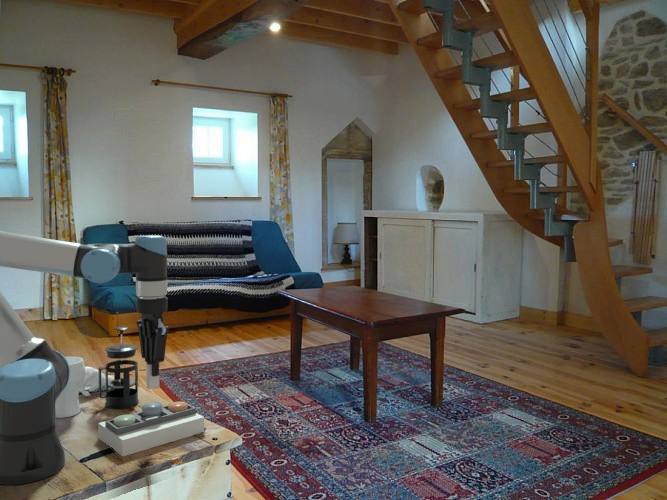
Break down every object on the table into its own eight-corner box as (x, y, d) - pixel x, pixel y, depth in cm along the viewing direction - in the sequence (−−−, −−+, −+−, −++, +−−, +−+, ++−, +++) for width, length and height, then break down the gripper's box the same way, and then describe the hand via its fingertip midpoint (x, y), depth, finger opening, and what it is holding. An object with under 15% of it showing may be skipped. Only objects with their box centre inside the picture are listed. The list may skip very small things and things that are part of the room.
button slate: (147, 418, 141) (147, 410, 141) (138, 412, 145) (138, 405, 145) (166, 413, 145) (165, 405, 145) (156, 408, 148) (156, 400, 148)
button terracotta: (174, 417, 146) (174, 409, 146) (164, 411, 150) (164, 404, 150) (191, 412, 150) (191, 405, 150) (181, 407, 153) (181, 400, 153)
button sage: (119, 431, 136) (119, 423, 136) (110, 425, 140) (110, 418, 140) (138, 426, 140) (138, 418, 140) (129, 420, 143) (129, 413, 143)
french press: (135, 395, 174) (134, 322, 173) (145, 404, 167) (145, 328, 165) (95, 403, 167) (94, 327, 165) (104, 412, 160) (103, 333, 158)
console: (122, 456, 132) (122, 433, 132) (98, 438, 142) (98, 417, 142) (204, 431, 148) (204, 411, 147) (177, 416, 158) (177, 397, 157)
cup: (74, 420, 154) (74, 366, 152) (36, 419, 154) (35, 365, 153) (92, 406, 164) (91, 356, 163) (56, 405, 164) (55, 355, 163)
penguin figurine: (73, 365, 175) (112, 362, 183) (71, 392, 175) (110, 388, 183) (79, 370, 170) (119, 367, 178) (77, 398, 170) (117, 394, 178)
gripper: (178, 298, 140) (179, 390, 142) (153, 292, 150) (154, 378, 151) (150, 301, 135) (151, 397, 137) (126, 294, 144) (127, 384, 146)
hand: (153, 387), depth 144 cm, fingers closed
